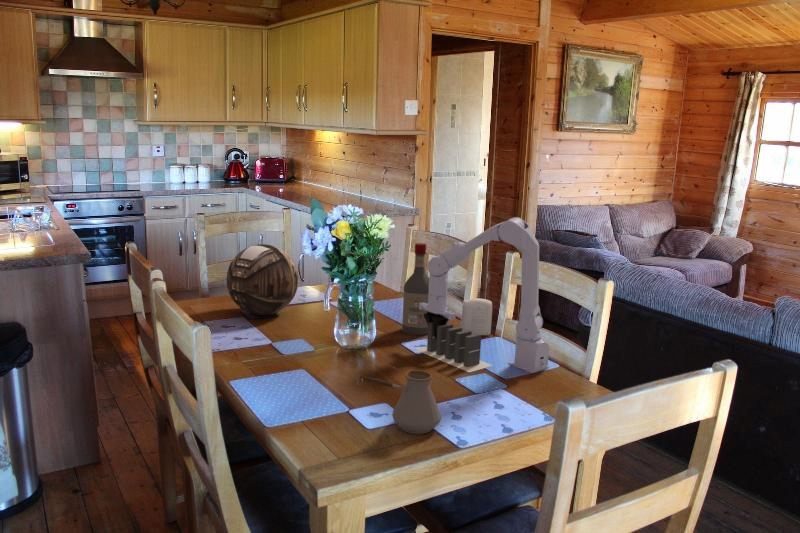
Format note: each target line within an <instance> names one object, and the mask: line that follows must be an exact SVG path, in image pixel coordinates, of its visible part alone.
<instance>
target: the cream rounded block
mask: <svg viewBox="0 0 800 533" xmlns="http://www.w3.org/2000/svg"><path fill="white" fill-rule="evenodd" d="M492 316H493V302H492V301H491V300H489V299H485V298H478V297H477V298H471V299H470V298H469V299H466V300H463V303H462V308H461V322H460V327H461V328H462V331H465V330H469V331H472V334H471V335H473V334H477V333H478V334H480V335H481V336H490V335H491V330H492V319H493V317H492ZM487 333H488V334H487ZM489 334H490V335H489Z"/></svg>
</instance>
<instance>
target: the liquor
mask: <svg viewBox="0 0 800 533" xmlns="http://www.w3.org/2000/svg"><path fill="white" fill-rule="evenodd" d="M414 254H415V257H414V258H415V259H414V270H413V273H412V274H411V275H410V277H409V278H408V279H407V280H406V281H405V282H404V286H403V302H402V304H403V305H402V328H401V330H402V332H403V334H406V335H407V336H408V335H409V336H410V335H415V336H425V335H428V324H427V322H426V319H425V318H424V314H426V313H427V311H426V310H420V309H419V303H428V293H429V277H430V276H429V275H428V274H427V273H426V269H425V265H426V264H425V263H426V262H425V261H426V260H425V259H426V254H427V244H426V243H419V242H418V243H417V242H416V243H415V244H414Z"/></svg>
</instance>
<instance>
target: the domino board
mask: <svg viewBox="0 0 800 533" xmlns="http://www.w3.org/2000/svg"><path fill="white" fill-rule="evenodd" d="M414 350H415V351H418V352H420V353H422V354H425V355H427V356H430V357H431V358H435V359H437V360H439V361H441V362H443V363H445V364H448V365H451V366H453V367H455V368H458V369H459V370H463V371H464V372H467V373H472V372H476V371H479V370H482V369H487V368H491V367H494V365H492V364H491V363H488V362H485V361H483V360H481V359H480V364H478V365H474V366H470V367H466V366H464V362H461V363H456V362H454V358H452V359H446V358H445V354H444V355H440V356H439V355H437V354H436V351H432V352H429V351H427V345H426V346H422V347H417V348H414Z"/></svg>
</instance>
